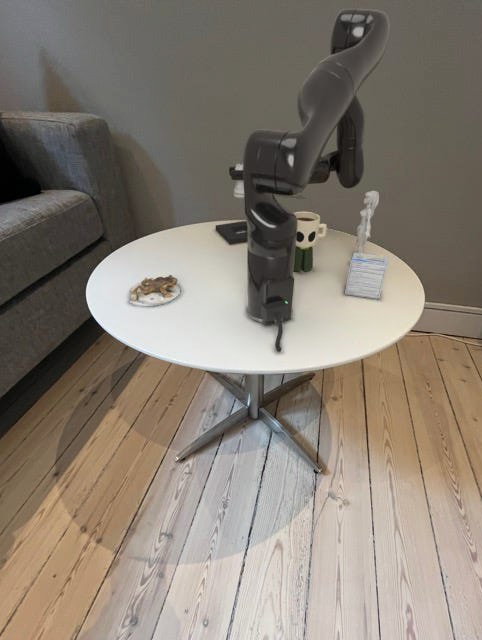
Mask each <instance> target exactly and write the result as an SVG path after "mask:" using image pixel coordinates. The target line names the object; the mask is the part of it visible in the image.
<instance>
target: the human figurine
mask: <svg viewBox="0 0 482 640" xmlns="http://www.w3.org/2000/svg"><path fill="white" fill-rule="evenodd" d="M379 202H380V195H379V191H376V190H371V191H367V192H365V197H364V198H363V205H365V208H364V209H362V210H361V211H360V212H359V215H360V217H361V218H360V224H358V226H357V228H356V242H355V245H357V248H356V253H364V248H363V245H364V246H365V245H366V243H367V241H368V240H369V238H371V230H372V226H371V218H372V217H373V216H374V213H375V211H376V208H377V206H378V204H380V203H379ZM350 263H351V261H350V262H349V264H350Z"/></svg>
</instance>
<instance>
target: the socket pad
mask: <svg viewBox="0 0 482 640" xmlns="http://www.w3.org/2000/svg"><path fill="white" fill-rule="evenodd" d="M242 231H243V232H242ZM215 232H217V233H218V234H219V235H220V237H222V238H223V239H224V240H225V241H226V242H227V243H228V244H229V245H237V244H243V243H247V232H248V231H247V221H246V220H242V221H236V222H229V223H222V224H215Z"/></svg>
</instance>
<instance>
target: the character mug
mask: <svg viewBox="0 0 482 640" xmlns="http://www.w3.org/2000/svg"><path fill="white" fill-rule="evenodd" d="M292 213H293V214H294V215H295V216H296V218H297V221H298V226H297V237H296V248H295V259H294V270H293V272H300V273H301V271H302V269H303V272H305V273H306V272H309V271H311V270H313V267H314V248H313V247H314V246H316V244H317V243H318V239H321V238H325V237H326V236H327V229H328V227H327V224H326V223H321V216H320V215H319V214H317V213H315V212H311V211H295V212H292ZM320 229H322V230H321V231H322V232H321V233H319V232H320Z"/></svg>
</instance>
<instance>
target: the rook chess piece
mask: <svg viewBox="0 0 482 640" xmlns="http://www.w3.org/2000/svg"><path fill="white" fill-rule="evenodd" d="M235 166H236V168H235V170H243V163H236V164H235ZM235 181H236V182H235V186H234V189H233V197H234V198H236V199H239V200H240V199H242V200H243V199H244V182H243V180H235Z"/></svg>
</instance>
